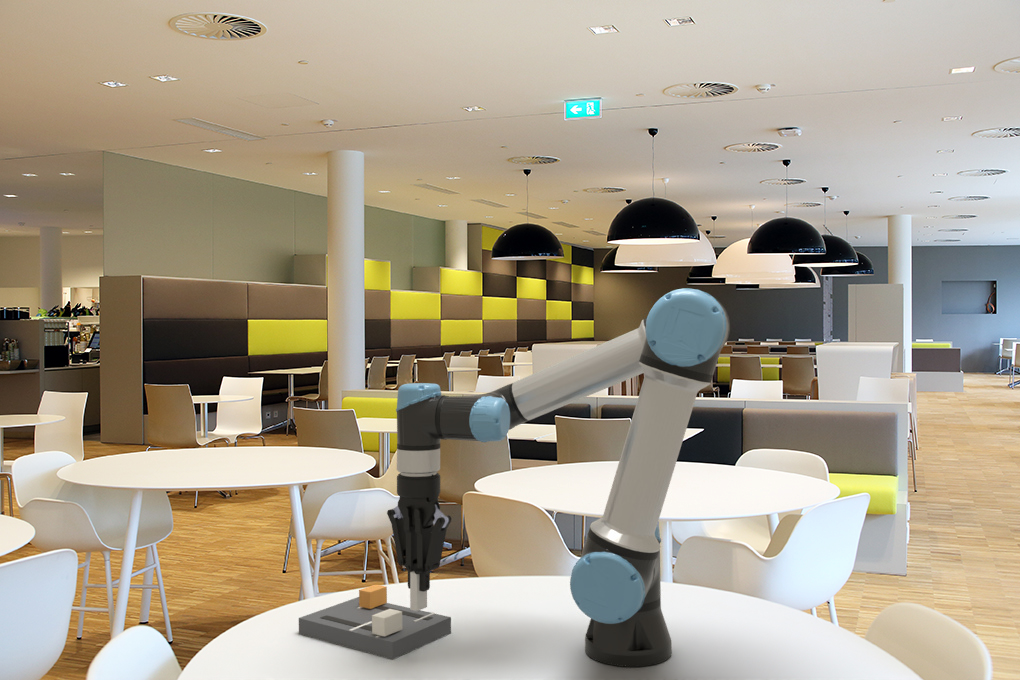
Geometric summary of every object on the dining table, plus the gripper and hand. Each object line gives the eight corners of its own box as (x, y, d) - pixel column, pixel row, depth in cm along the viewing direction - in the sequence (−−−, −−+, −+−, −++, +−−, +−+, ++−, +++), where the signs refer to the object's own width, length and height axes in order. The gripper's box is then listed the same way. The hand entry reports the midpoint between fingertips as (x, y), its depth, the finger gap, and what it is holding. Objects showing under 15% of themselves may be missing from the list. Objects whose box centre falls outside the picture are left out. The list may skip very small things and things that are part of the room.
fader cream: (402, 629, 157) (402, 611, 157) (384, 636, 154) (384, 618, 154) (390, 626, 159) (389, 608, 159) (372, 633, 155) (371, 615, 155)
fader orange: (386, 602, 173) (386, 586, 173) (370, 608, 169) (370, 592, 169) (375, 600, 175) (375, 584, 175) (359, 606, 171) (359, 590, 171)
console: (451, 633, 165) (450, 616, 165) (392, 659, 152) (392, 641, 152) (359, 611, 179) (359, 596, 179) (298, 633, 166) (298, 617, 165)
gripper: (461, 473, 151) (461, 609, 151) (405, 466, 158) (405, 596, 159) (433, 479, 145) (433, 621, 145) (376, 471, 152) (376, 607, 153)
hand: (418, 608), depth 152 cm, fingers closed
